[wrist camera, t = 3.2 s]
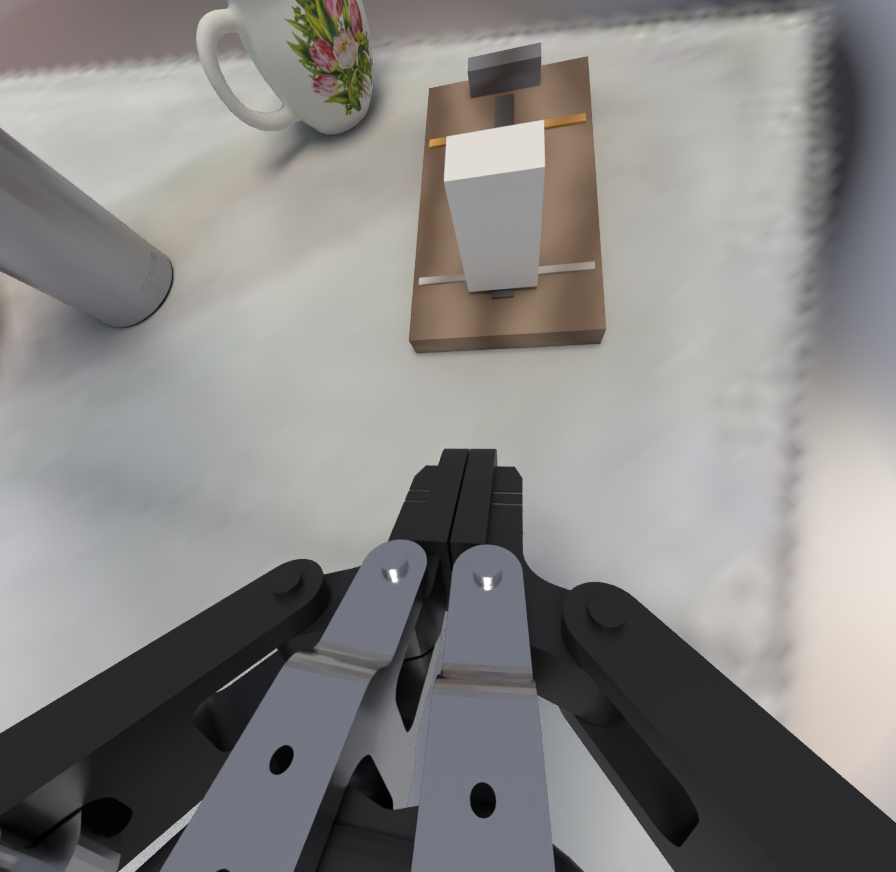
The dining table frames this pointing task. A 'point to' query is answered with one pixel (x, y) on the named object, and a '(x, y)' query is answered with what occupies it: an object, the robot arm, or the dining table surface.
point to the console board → (563, 213)
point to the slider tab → (497, 203)
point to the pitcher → (297, 60)
